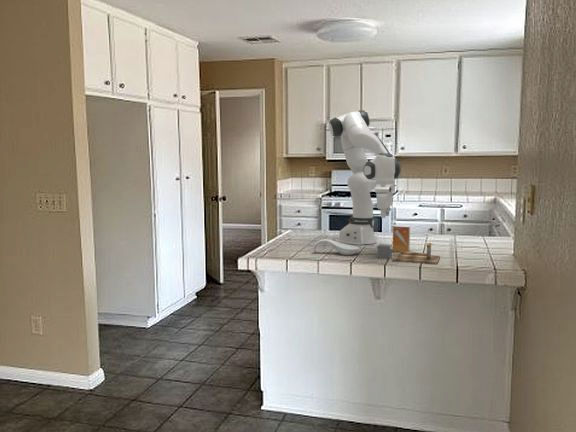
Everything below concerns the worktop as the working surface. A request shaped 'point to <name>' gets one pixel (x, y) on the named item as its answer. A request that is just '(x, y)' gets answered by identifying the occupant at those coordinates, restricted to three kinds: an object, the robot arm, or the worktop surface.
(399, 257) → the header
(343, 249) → the spoon rest
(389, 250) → the grey block
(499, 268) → the worktop surface
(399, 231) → the small box
